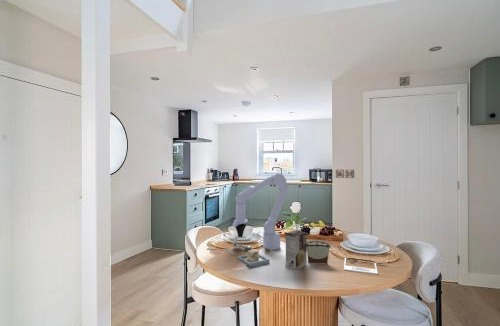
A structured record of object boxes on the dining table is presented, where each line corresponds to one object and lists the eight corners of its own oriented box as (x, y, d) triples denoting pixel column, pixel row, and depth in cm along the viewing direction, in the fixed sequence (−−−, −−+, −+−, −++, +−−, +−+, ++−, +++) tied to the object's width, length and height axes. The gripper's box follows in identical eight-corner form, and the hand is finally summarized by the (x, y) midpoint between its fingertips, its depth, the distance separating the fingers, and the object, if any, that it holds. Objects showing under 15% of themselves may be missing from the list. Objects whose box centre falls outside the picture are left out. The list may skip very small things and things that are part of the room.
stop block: (253, 258, 148) (253, 249, 148) (258, 261, 144) (258, 251, 144) (247, 260, 145) (247, 250, 145) (252, 262, 142) (252, 252, 142)
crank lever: (252, 248, 160) (252, 239, 160) (250, 249, 158) (250, 241, 158) (234, 245, 166) (234, 237, 166) (231, 246, 163) (232, 238, 163)
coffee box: (296, 261, 145) (296, 229, 145) (306, 265, 141) (307, 232, 140) (284, 266, 139) (285, 233, 139) (295, 270, 134) (296, 235, 134)
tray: (256, 256, 152) (256, 252, 152) (269, 263, 143) (269, 259, 143) (237, 260, 146) (237, 256, 146) (249, 267, 136) (249, 263, 136)
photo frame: (343, 268, 134) (344, 256, 151) (343, 271, 134) (344, 258, 151) (378, 273, 129) (375, 260, 146) (378, 275, 129) (375, 262, 146)
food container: (328, 260, 148) (328, 240, 148) (330, 264, 142) (330, 244, 142) (304, 259, 149) (304, 239, 149) (305, 263, 143) (305, 243, 143)
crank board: (245, 246, 170) (245, 243, 170) (257, 252, 159) (257, 249, 159) (222, 250, 162) (222, 247, 162) (233, 257, 151) (233, 254, 151)
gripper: (240, 211, 177) (240, 233, 177) (228, 215, 164) (227, 238, 165) (250, 212, 174) (250, 234, 174) (238, 216, 161) (238, 240, 161)
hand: (240, 236), depth 169 cm, fingers closed
